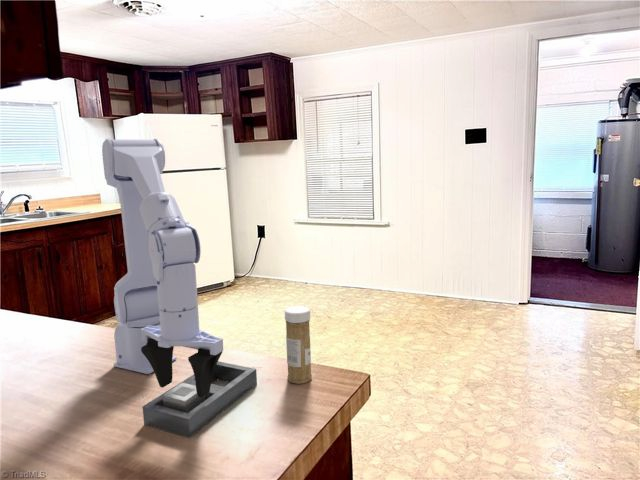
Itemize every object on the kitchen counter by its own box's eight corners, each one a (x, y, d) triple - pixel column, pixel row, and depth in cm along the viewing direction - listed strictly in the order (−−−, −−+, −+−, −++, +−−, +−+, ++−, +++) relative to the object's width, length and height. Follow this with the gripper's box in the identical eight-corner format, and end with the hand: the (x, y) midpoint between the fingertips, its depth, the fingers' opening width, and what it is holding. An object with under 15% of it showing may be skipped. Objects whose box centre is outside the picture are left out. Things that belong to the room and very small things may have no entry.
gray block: (164, 421, 74) (162, 394, 74) (183, 408, 78) (182, 382, 78) (186, 428, 73) (184, 400, 72) (205, 413, 77) (204, 387, 76)
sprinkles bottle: (316, 380, 87) (314, 309, 85) (295, 387, 85) (292, 314, 82) (303, 371, 91) (301, 303, 89) (282, 377, 88) (280, 308, 86)
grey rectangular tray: (144, 424, 74) (142, 406, 73) (216, 375, 90) (215, 360, 89) (190, 438, 70) (188, 419, 69) (257, 384, 86) (256, 369, 85)
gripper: (122, 308, 72) (130, 391, 75) (199, 321, 66) (205, 411, 68) (157, 295, 78) (163, 372, 81) (229, 306, 72) (234, 389, 75)
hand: (184, 389), depth 75 cm, fingers open, 7 cm apart
